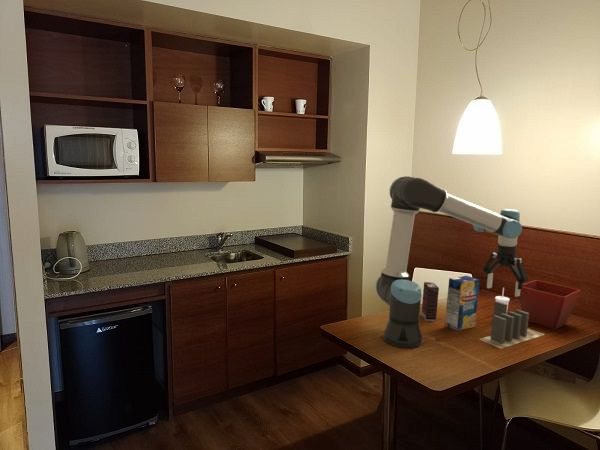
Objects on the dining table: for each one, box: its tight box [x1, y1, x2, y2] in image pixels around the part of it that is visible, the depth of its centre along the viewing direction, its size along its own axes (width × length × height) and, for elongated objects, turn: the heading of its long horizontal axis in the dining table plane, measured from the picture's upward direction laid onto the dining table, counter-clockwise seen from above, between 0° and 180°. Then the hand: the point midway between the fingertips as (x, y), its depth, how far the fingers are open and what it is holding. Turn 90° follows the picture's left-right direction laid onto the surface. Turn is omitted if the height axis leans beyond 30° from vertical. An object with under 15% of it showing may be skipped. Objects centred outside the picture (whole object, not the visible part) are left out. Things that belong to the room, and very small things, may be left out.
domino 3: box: [500, 313, 515, 342], centre depth 177 cm, size 2×5×10 cm, turn 31°
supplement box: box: [420, 281, 440, 322], centre depth 200 cm, size 9×5×16 cm, turn 179°
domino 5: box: [514, 309, 529, 337], centre depth 182 cm, size 2×5×10 cm, turn 31°
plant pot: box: [519, 279, 581, 330], centre depth 199 cm, size 19×19×17 cm
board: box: [478, 327, 545, 350], centre depth 180 cm, size 30×10×1 cm, turn 121°
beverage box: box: [444, 275, 481, 331], centre depth 189 cm, size 7×11×22 cm, turn 118°
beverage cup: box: [494, 287, 510, 315], centre depth 206 cm, size 6×6×14 cm
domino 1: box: [493, 300, 508, 316], centre depth 196 cm, size 2×5×10 cm, turn 31°
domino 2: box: [490, 314, 507, 344], centre depth 174 cm, size 2×5×10 cm, turn 31°
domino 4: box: [507, 310, 522, 339], centre depth 180 cm, size 2×5×10 cm, turn 31°
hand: (502, 291), depth 194 cm, fingers open, 13 cm apart
